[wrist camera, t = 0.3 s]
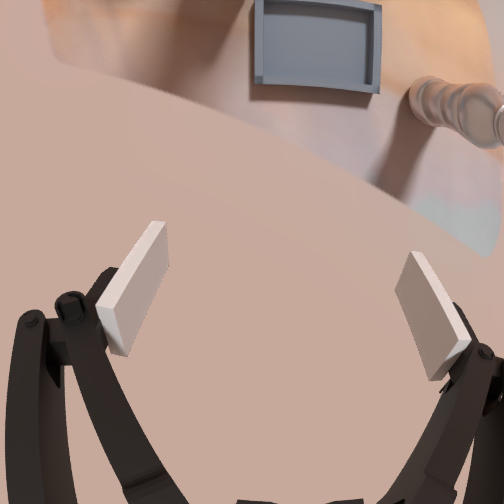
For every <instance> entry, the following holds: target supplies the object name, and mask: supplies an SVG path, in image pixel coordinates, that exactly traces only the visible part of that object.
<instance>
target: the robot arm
mask: <svg viewBox="0 0 504 504" xmlns="http://www.w3.org/2000/svg"><path fill="white" fill-rule="evenodd" d="M168 267H169V260H168V246H167V229H166V222H161V221H152V222H151V223H150V225H149V226H148V228H147V229H146V230H145V232H144V233H143V234H142V236H141V237H140V239H139V240H138V242H137V243H136V245H135V246H134V247H133V249H132V250H131V252H130V253H129V255H128V256H127V257H126V259H125V260H124V262H123V263H122V265H121V266H120V268H113V267H109V268H108V269H106V270H105V271H104V272H102V273H101V274H100V276H99V277H98V279H97V280H96V282H95V283H94V285H93V286H92V288H91V289H90V290H89V292H88V293H87V295H86V296H84V294H83V293H81V292H78V291H70V292H66V293H64V294H62V295H61V296H60V297H59V298H57V300H56V302H55V310H56V312H57V315H58V318H51V319H46V318H45V315H44V314H43V312H42V311H40V310H30V311H27V312H26V313H24V314H23V315H22V316H21V317H20V318H19V320H18V323H17V328H16V333H15V339H14V345H13V351H12V357H11V364H10V372H9V381H8V391H7V403H6V420H5V462H6V480H7V491H8V501H9V504H78V503H77V498H76V493H75V488H74V482H73V477H72V470H71V463H70V456H69V447H68V438H67V426H66V411H65V389H64V388H65V387H64V366H66V365H72V366H73V370H74V373H75V376H76V379H77V382H78V385H79V388H80V391H81V394H82V397H83V400H84V402H85V405H86V408H87V410H88V413H89V416H90V418H91V420H92V423H93V425H94V428H95V430H96V433H97V435H98V437H99V440H100V442H101V444H102V447H103V449H104V451H105V453H106V455H107V457H108V460H109V462H110V464H111V465H112V468H113V470H114V472H115V474H116V476H117V477H118V479H119V481H120V483H121V486H122V489H123V493H124V496H125V498H126V500H127V502H128V504H189V503H188V501H187V500H186V498H185V497H184V496H183V494H182V493H181V491H180V490H179V489H178V487H177V485H176V484H175V483H174V481H173V479H172V478H171V476H170V475H169V474H168V472H167V471H166V469H165V468H164V466H163V465H162V463H161V461H160V460H159V458H158V456H157V455H156V453H155V451H154V450H153V448H152V446H151V444H150V443H149V441H148V439H147V437H146V435H145V434H144V432H143V430H142V428H141V426H140V424H139V423H138V421H137V419H136V417H135V415H134V413H133V411H132V409H131V407H130V405H129V403H128V401H127V399H126V397H125V395H124V393H123V391H122V389H121V386H120V384H119V383H118V380H117V378H116V376H115V373H114V371H113V369H112V366H111V364H110V362H109V360H108V357H107V355H106V353H105V350H106V348H107V346H109V349H110V352H111V354H115V355H120V356H124V357H127V356H128V354H129V352H130V350H131V347H132V345H133V343H134V340H135V338H136V335H137V333H138V331H139V329H140V326H141V324H142V322H143V320H144V318H145V315H146V313H147V311H148V309H149V307H150V305H151V302H152V300H153V298H154V296H155V294H156V292H157V289H158V287H159V285H160V283H161V281H162V279H163V277H164V275H165V273H166V271H167V269H168ZM395 292H396V294H397V297H398V299H399V302H400V304H401V306H402V309H403V311H404V314H405V316H406V318H407V321H408V324H409V326H410V329H411V332H412V334H413V337H414V340H415V342H416V345H417V348H418V351H419V353H420V356H421V359H422V362H423V365H424V368H425V371H426V374H427V377H428V379H429V381H437V380H442V379H443V378H444V377H445V375H446V374H447V373H448V372H449V375H450V379H449V381H448V382H447V383H446V384H445V385H444V387H443V388H442V389H441V390H440V391H439V393H441V392H442V391H443V393H442V395H441V398H440V399H439V402H438V404H437V406H436V408H435V410H434V413H433V414H432V417H431V419H430V421H429V423H428V425H427V427H426V428H425V430H424V432H423V434H422V436H421V438H420V440H419V442H418V444H417V445H416V447H415V449H414V451H413V452H412V454H411V456H410V458H409V459H408V461H407V463H406V465H405V466H404V468H403V469H402V471H401V472H400V474H399V476H398V477H397V479H396V480H395V482H394V483H393V485H392V486H391V488H390V489H389V491H388V492H387V493H386V495H385V496H384V497H383V498H382V499H381V500H380V501H378V502H377V504H453V503H454V501H455V499H456V496H457V491H456V490H454V485H455V483H456V481H457V478H458V476H459V474H460V472H461V469H462V467H463V465H464V462H465V459H466V457H467V454H468V452H469V450H470V447H471V444H472V442H473V439H474V446H473V453H472V460H471V466H470V472H469V478H468V483H467V487H466V492H465V496H464V500H463V504H504V359H503V358H499V357H496V356H495V355H494V352H493V351H492V349H491V348H490V347H488V346H487V345H485V344H483V343H479V341H478V339H477V337H476V335H475V333H474V331H473V330H472V328H471V326H470V324H469V322H468V320H467V319H466V318H465V317H466V316H465V315H464V313H463V311H462V309H461V308H460V307H459V306H458V305H457V304H456V303H455V302H451V300H450V298H449V296H448V295H447V293H446V291H445V289H444V288H443V286H442V284H441V283H440V281H439V279H438V278H437V276H436V274H435V273H434V271H433V269H432V268H431V266H430V265H429V263H428V262H427V260H426V258H425V257H424V255H423V254H422V253H421V252H416V251H410V253H409V256H408V258H407V261H406V263H405V266H404V269H403V271H402V274H401V276H400V278H399V281H398V283H397V286H396V288H395ZM501 396H502V398H501ZM474 436H475V437H474ZM236 504H276V503H272V502H263V501H248V500H237V503H236ZM327 504H364V501H363V499H355V500H343V501H334V502H330V503H327Z"/></svg>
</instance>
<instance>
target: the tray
mask: <svg viewBox="0 0 504 504" xmlns="http://www.w3.org/2000/svg"><path fill="white" fill-rule="evenodd" d="M381 52H382V5H378V4H373V3H368V2H363V1H357V0H255V80H254V84H280V85H300V86H314V87H326V88H336V89H345V90H353V91H361V92H368V93H375V94H379V92H380V76H381Z"/></svg>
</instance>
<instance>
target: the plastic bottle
mask: <svg viewBox="0 0 504 504" xmlns="http://www.w3.org/2000/svg"><path fill="white" fill-rule="evenodd" d="M409 105H410V108H411V110H412V112H413V113H414V115H415V116H416V117H417V118H418V119H419V120H420V121H422V122H423V123H425V124H427V125H429V126H435V127H446V128H450V129H452V130H454V131H455V132H457V133H459V134H460V135H462V136H463V137H464V138H465V139H467V140H468V141H469V142H471V143H472V144H474V145H475V146H477V147H479V148H482V149H495V148H498V147H499V146H501V145H503V146H504V95H502V94H501V92H500V91H498V90H497V89H496V88H494V87H493V86H491V85H489V84H485V83H473V84H464V85H463V84H452V83H448V82H445V81H443V80H442V79H439V78H436V77H433V76H427V77H423V78H420V79H418V80H416V81H415V82H414V83H413V84H412V86H411V88H410V91H409Z"/></svg>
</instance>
